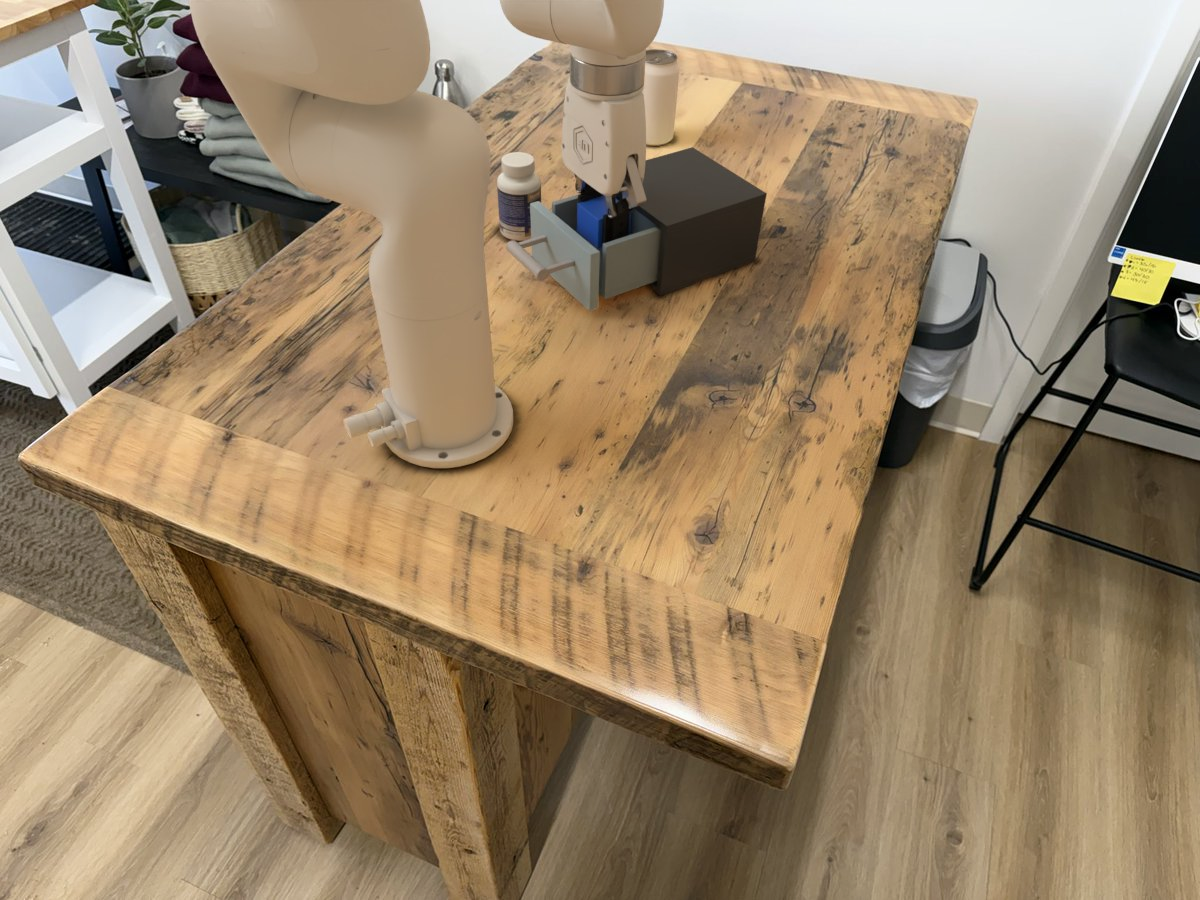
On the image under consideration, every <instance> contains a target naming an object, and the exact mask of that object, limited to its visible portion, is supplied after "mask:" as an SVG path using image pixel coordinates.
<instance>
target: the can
mask: <svg viewBox="0 0 1200 900" xmlns="http://www.w3.org/2000/svg"><path fill="white" fill-rule="evenodd" d="M678 57H679V56H678V55H677V54H676V53H675V52H673V51H670V50H666V49H660V48H656V49H655V48H651V49H646V60H645V77H644V89H643V91H642V93H643V94H644V104H645V117H646V146H647V147H648V146H649V147H661V146H665V145H667V144H669V143H670V142H671V141H672V140H673V139H674V134H675V126H676V125H675V124H676V114H677V113H676V112H677V101H678V92H679V79H680V66H679V62H678Z"/></svg>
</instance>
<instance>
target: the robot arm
mask: <svg viewBox="0 0 1200 900" xmlns="http://www.w3.org/2000/svg"><path fill="white" fill-rule="evenodd" d="M188 4H189V10H190V14H191V19H192V24H193V27H194V30H195V33H196V36H197V38H198V41H199V43H200V45H201V48H202V49H203V51H204V53H205V55H206V57H207V59H208V61H209V63H210V64H211V66H212V68H213V70H214V71H215V73H216V75H217V76H218V78H219V79H220V82H221V83H222V85H223V86H224V88H225V89H226V92H227V94H228V95H229V96H230V98H231V100H232V101H233V103H234V105H235V106H236V108H237V110H238V112H239V113H240V114H241V116H242V118H243V119H244V121H245V123H246V125H247V126H248V129H250V131H251V133H252V134H253V136H254V138H255V140H256V141H257V143H258V145H259V146H260V148H261V149H262V151H263V152H264V154H265V155H266V157H267V158H268V160H269V161H270V163H271V164H272V165H273V166H274V168H275V169H276V170H277V171H278V172H279V173H280V174H281V175H282V176H283V177H284V178H285V180H287V181H289V183H291V184H292V185H294V186H295V187H297V188H299V189H301V190H303V191H305V192H307V193H310V194H312V195H315V196H317V197H321V198H324V199H327V200H329V201H333V202H335V203H338V204H341V205H345V206H347V207H350V208H352V209H355V210H357V211H358V212H362V213H365V214H368V215H370V216H372V217H374V218H375V219H377V220H378V222H379V223H380V225H381V227H382V229H381V230H382V231H381V236H380V238H379V240H378V241H377V243H376V244H375V246H374V248H373V250H372V252H371V254H370V257H369V260H368V281H369V286H370V291H371V296H372V299H373V305H374V310H375V315H376V320H377V324H378V330H379V335H380V340H381V346H382V349H383V350H382V351H383V355H384V361H385V367H386V371H387V377H388V381H389V387H385V388H382V390H381V394H382V401H380V402H377V403H375V404H374V409H370V410H368V411H364V412H359V413H356V414H353V415H350V416H348V417H346V418H344V419H342V422H343V426H344V428H345V431H346V433H347V435H348V437H349V438H350V439H354V438H356V437H359V436H362V435H365V434H366V436H367V438H368V442H369V444H370V446H371V447H372V448H375V447H378V446H381V445H383V444H385V445H386V446H387V447H388V448H389V450H390V451H391V452H392V453H393V454H395V455H396V456H397V457H398V458H400V459H402V460H404V461H406V462H407V463H410V464H413V465H416V466H420V467H424V468H431V469H451V468H452V469H453V468H460V467H463V466H467V465H471V464H474V463H476V462H479V461H481V460H483V459H484V460H485V459H486V458H487V457H489V456H490V455H492V454H494V453H496V451H498V450H499V449H500V448H501V447H502V446H503V445H504V444H505V442H506V441H507V440H508V439H509V437H510V434H511V433H512V431H513V426H514V409H513V406H512V402H511V400H510V399H509V397H508V395H507V394H506V392H504V391H503V389H501V388H500V387H498V386H497V385H496V383H495V382H496V381H495V371H494V370H495V369H494V357H493V343H492V333H491V332H492V331H491V319H490V307H489V306H490V305H489V295H488V294H489V293H488V283H487V275H486V273H487V272H486V258H485V256H486V255H485V219H486V218H485V217H486V209H487V208H486V207H487V200H488V199H487V198H488V193H489V184H490V178H491V167H492V166H491V165H492V163H491V160H492V159H491V149H490V145H489V141H488V138H487V135H486V133H485V131H484V129H483V128H482V126H481V125H480V124H479V122H478V121H477V120H476V119H475V118H474V117H473V116H472V115H471V114H470V113H469V112H468V111H466V110H465V109H464V108H462V107H461V106H459V105H457V104H456V103H453V102H451V101H449V100H447V99H445V98H442V97H440V96H437V95H434V94H431V93H428V92H425V91H422V90H418V89H419V87H420V86H421V85H422V83H423V82H424V80H425V78H426V77H427V74H428V71H429V66H430V61H431V41H430V34H429V30H428V24H427V21H426V16H425V13H424V10H423V5H422V1H421V0H188ZM499 4H500V7H501V10H502V12H503V15H504V16H505V18H506V19H507V21H508V22H509V23H510V24H511V26H512V27H514V28H515V29H516V30H517V31H519V32H520V33H523V34H525V35H526V36H527V35H528V36H530V37H533V38H537V39H540V40H545V41H549V42H554V43H558V44H563V45H569V76H568V78H567V82H566V87H565V93H564V99H563V100H564V101H563V108H562V109H563V110H562V125H561V126H562V127H561V131H562V132H561V160H562V163H563V164H564V166H565V167H566V168H567V169H568V170H569V171H570V172H571V173H573V175H574V178H575V183H574V189H575V191H576V193H577V195H578V194H580V195H578V203H580V202H584V201H587V200H590V199H594V198H597V197H600V196H604V195H605V198H606V208H607V214H605V215H603V241H602V245H603V244H604V243H607V242H610V241H613V240H616V239H619V238H622V237H625V236H628V233H629V214H630V213H631V212H633V209H634V208H636V207H637V206H640V205H642V204H645V203H646V195H645V192H644V189H643V185H642V183H643V179H644V174H645V164H646V160H647V158H646V157H647V145H646V117H645V104H644V94H643V93H642V91H643V89H644V77H645V60H646V50H647V48H648V47H649V46H650V45H651V44H652V43H653V41H654V40H655V38H656V37H657V35H658V32H659V30H660V27H661V25H662V20H663V15H664V7H665V0H499ZM618 193H622V196H623V199H621V200H619V201H618V202H617V203H616V200H615V194H618ZM378 428H379V429H378ZM375 429H376V430H375ZM372 430H373V431H372Z"/></svg>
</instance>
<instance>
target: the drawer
mask: <svg viewBox="0 0 1200 900" xmlns="http://www.w3.org/2000/svg"><path fill="white" fill-rule="evenodd" d="M580 194H581V193H580ZM580 194H578V193H577V194H575V195H571V196H567V197H565V198H561V199H557V200H554V201H552V202H551V209H549V208H548V207H547V206H545V204H543V203H542V202H541V203H540V202H539V201H537V202H533V203H530V216H531V239H528V240H525V241H519V242H518V241H516V240H511V239H510V240H509V241H508V242H507V243H506V246H505V249H506V251H507V252H508V253H510V255H511V256H513V258H515V260H517V261H518V262H519V263H520V264H521V265H522V266H523V267H524V268H525V269H526V270H527V271H528V272H529V273H531V274H532V275H533V276H534V277H535V278H537V280H538V281H545V280H546V279H547V277H548V275H549V276H550V277H551V278H553V279H554V281H556V282H557V283H558V285H560V286H561V287H562V288H563V289H564V290H565V291H567V292H568V293H569V294H570V295H571V296H572V297H574V299H575V300H577V301H578V302H579V303H580V305H582V306H583V307H584V308H585V309H587V311H588V312H591V311H594V310H596V309H599V296H600V297H601V298H602V299H603V300H607V299H610V298H613V297H616V296H619V295H621V294H624V293H627V292H630V291H633V290H636V289H638V288H641V287H644V286H648V285H647V284H650V283H652V282H655V281H658V269H659V258H660V246H661V235H662V229H661V228H659V227H658V226H657V225H655V224H654V223H653V222H651V221H650V220H649V219H647V218H646V217H645V216H643V215H642V214H641V213H639V212H638V211H637V210H635V209H633V212H631V218H630V235H628V236H625V237H622V238H619V239H616V240H613V241H610V242H607V243H604V244H603V247H601V248H596V247H595V246H594V245H593V244H592V243H590V242H589V241H588V240H587V239H586V238H584V237H583V236H582V235H581V234H580V233H578V232H577V203H578V195H580ZM615 198H616V199H617V200H618V201H619V200H621V199H620V198H619V197H618V196H616V195H615ZM529 247H531V254H530V252H528V251H527V250H526V249H525V248H529Z"/></svg>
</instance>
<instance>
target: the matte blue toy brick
mask: <svg viewBox="0 0 1200 900" xmlns="http://www.w3.org/2000/svg"><path fill="white" fill-rule="evenodd" d="M615 200H616V203H617V202H618V200H617V199H616V198H615ZM605 214H607V208H606V198H605V195H604V196H600V197H597V198H594V199H590V200H587V201H584V202H580V203H577V232H578V233H580V234H581V235H582V236H583V237H584V238H586V239H587V240H588V241H589V242H590V243H592V244H593V245H594V246H595V247H596V248H601V247H603V245H602V241H603V215H605ZM630 218H631V213H630V214H629V233H628V235H630Z"/></svg>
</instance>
